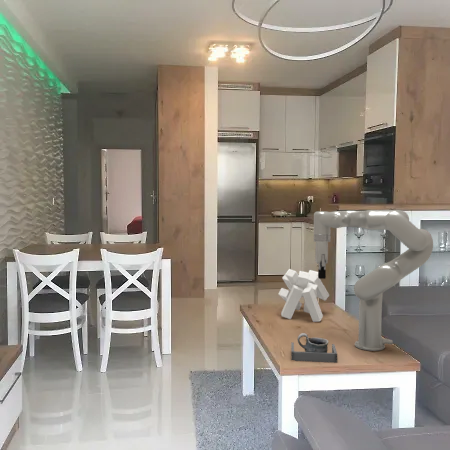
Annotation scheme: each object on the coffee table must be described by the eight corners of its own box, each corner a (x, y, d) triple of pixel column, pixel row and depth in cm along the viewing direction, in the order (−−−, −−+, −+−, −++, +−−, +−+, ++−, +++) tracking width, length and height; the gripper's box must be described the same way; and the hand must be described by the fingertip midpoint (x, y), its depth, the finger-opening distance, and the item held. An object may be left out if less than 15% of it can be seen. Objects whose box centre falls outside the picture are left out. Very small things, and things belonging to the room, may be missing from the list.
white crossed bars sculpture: (276, 316, 290) (258, 267, 277) (322, 296, 292) (306, 246, 278) (296, 349, 258) (277, 296, 244) (347, 327, 260) (331, 272, 246)
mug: (332, 360, 197) (332, 335, 196) (302, 362, 194) (302, 337, 194) (322, 352, 206) (322, 329, 206) (294, 354, 204) (294, 331, 203)
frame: (334, 352, 207) (334, 344, 207) (337, 362, 194) (337, 354, 194) (291, 350, 209) (291, 342, 209) (291, 360, 196) (291, 352, 196)
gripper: (312, 237, 231) (312, 275, 232) (315, 239, 216) (315, 281, 217) (328, 237, 230) (328, 275, 231) (332, 239, 216) (332, 281, 217)
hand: (321, 278), depth 224 cm, fingers closed
